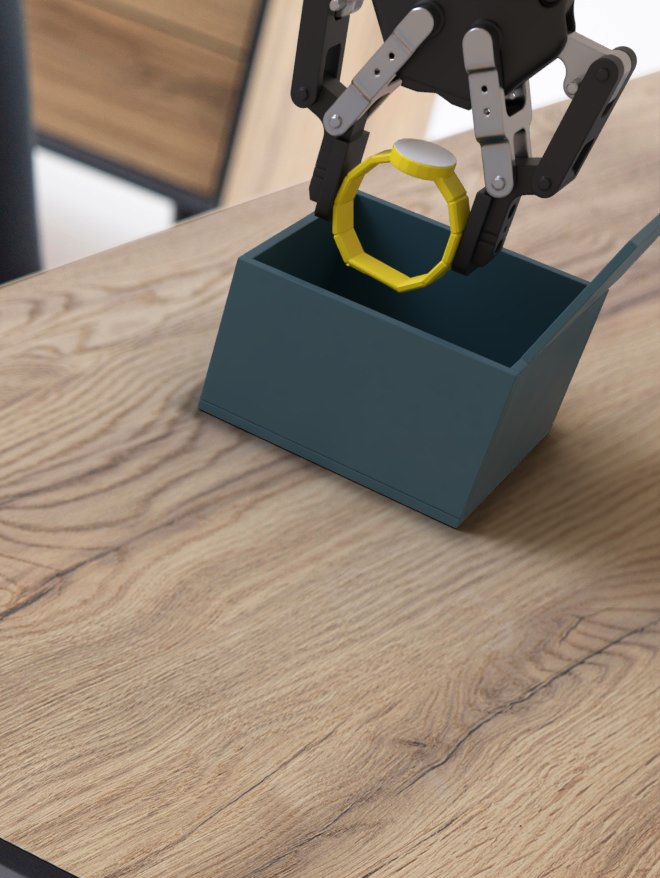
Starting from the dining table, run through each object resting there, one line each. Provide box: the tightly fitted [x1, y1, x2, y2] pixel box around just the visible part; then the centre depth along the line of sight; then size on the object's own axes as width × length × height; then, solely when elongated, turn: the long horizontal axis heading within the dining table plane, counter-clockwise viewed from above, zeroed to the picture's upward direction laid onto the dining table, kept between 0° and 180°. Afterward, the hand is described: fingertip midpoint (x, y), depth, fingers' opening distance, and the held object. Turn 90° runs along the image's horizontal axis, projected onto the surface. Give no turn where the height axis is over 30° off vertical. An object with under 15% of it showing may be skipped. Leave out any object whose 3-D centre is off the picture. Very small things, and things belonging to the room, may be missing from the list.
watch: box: [333, 137, 471, 293], centre depth 75 cm, size 6×3×6 cm, turn 51°
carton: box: [197, 189, 610, 529], centre depth 79 cm, size 13×12×8 cm
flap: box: [521, 212, 660, 364], centre depth 71 cm, size 6×12×1 cm
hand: (396, 240), depth 76 cm, fingers closed on watch, 6 cm apart
